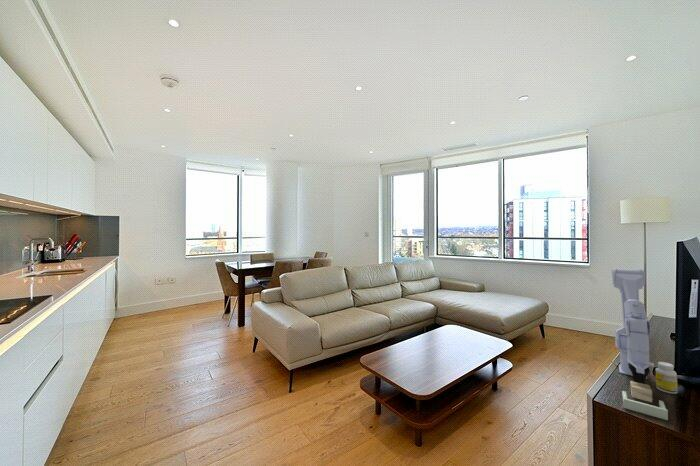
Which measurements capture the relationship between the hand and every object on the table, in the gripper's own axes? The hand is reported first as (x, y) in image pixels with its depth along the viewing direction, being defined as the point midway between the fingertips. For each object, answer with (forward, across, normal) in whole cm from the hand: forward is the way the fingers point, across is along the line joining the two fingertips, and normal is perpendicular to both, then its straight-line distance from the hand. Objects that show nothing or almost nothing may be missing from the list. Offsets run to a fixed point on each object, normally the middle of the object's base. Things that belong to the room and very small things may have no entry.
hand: (639, 385), depth 105 cm
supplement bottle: (+2, +6, -8) cm, 9 cm away
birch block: (+2, -6, 0) cm, 7 cm away
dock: (+1, -15, 0) cm, 15 cm away
